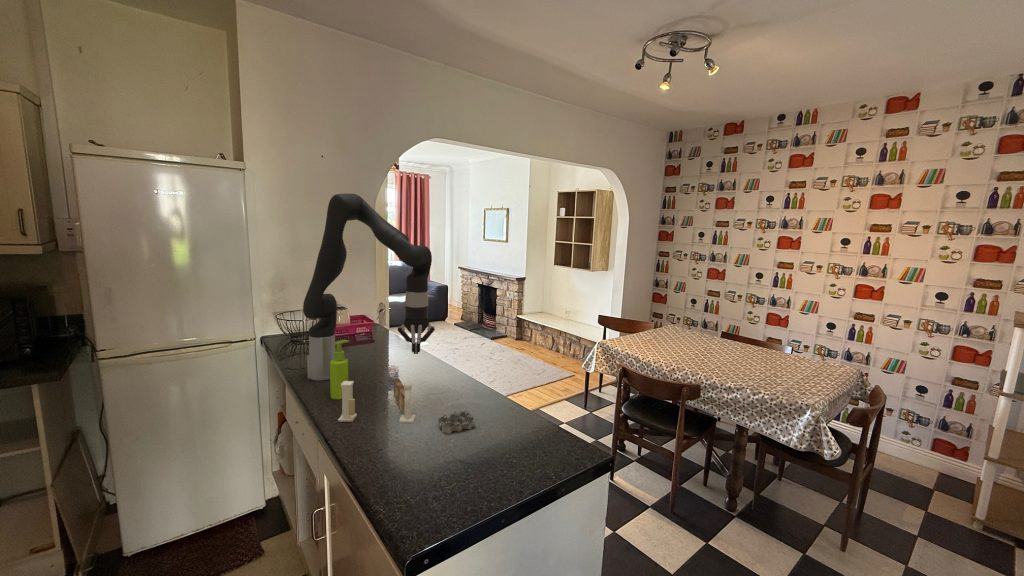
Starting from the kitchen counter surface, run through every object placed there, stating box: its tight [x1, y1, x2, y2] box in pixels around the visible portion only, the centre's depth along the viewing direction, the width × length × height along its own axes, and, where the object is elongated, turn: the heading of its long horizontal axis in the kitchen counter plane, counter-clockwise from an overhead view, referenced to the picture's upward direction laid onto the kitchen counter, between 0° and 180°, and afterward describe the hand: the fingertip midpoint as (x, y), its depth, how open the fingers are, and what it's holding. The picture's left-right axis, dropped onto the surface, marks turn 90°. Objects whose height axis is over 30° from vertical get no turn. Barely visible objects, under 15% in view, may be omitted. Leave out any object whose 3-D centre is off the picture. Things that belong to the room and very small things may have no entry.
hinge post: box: [398, 381, 417, 424], centre depth 128 cm, size 4×4×13 cm
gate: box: [392, 378, 405, 414], centre depth 136 cm, size 16×2×6 cm, turn 28°
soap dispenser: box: [329, 339, 350, 400], centre depth 143 cm, size 6×7×20 cm
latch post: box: [337, 380, 358, 423], centre depth 127 cm, size 5×4×12 cm
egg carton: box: [436, 409, 476, 435], centre depth 126 cm, size 11×8×4 cm
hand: (415, 353), depth 139 cm, fingers closed
